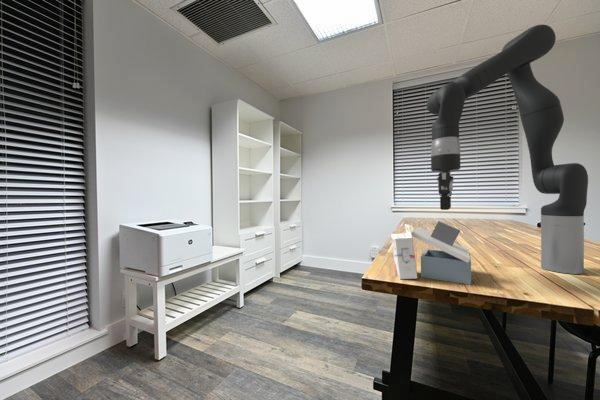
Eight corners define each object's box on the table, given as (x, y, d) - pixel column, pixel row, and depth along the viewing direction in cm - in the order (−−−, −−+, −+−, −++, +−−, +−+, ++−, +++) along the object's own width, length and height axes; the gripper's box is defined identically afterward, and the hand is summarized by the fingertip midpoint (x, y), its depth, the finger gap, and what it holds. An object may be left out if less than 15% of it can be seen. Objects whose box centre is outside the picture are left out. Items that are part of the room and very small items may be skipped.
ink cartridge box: (394, 271, 77) (389, 224, 78) (411, 270, 76) (405, 223, 77) (399, 279, 69) (393, 227, 69) (418, 279, 68) (412, 226, 68)
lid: (417, 229, 84) (425, 213, 82) (466, 252, 76) (476, 234, 75) (410, 235, 71) (420, 216, 70) (467, 262, 63) (479, 241, 62)
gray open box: (426, 267, 81) (426, 249, 81) (470, 273, 75) (470, 253, 75) (420, 276, 71) (420, 256, 71) (471, 284, 65) (470, 262, 65)
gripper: (460, 149, 65) (460, 210, 65) (460, 156, 77) (461, 208, 77) (428, 152, 69) (428, 210, 69) (433, 159, 81) (433, 208, 81)
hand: (445, 209), depth 73 cm, fingers open, 8 cm apart
